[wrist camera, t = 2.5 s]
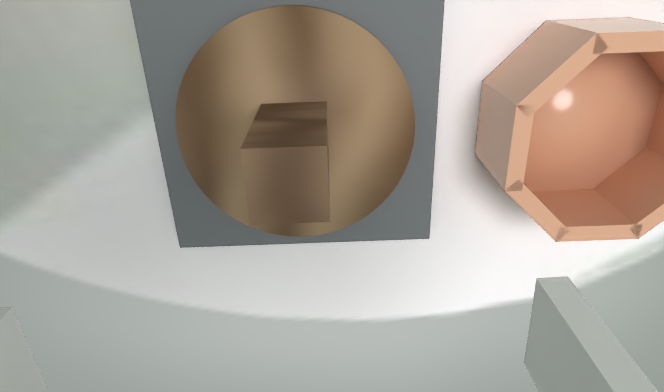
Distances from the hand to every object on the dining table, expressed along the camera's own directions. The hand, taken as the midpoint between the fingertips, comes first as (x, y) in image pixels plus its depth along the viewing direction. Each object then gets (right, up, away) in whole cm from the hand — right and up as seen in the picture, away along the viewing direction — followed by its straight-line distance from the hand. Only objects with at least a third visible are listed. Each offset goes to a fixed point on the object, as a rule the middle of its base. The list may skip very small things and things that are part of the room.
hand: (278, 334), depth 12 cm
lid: (-1, +8, +18) cm, 20 cm away
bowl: (+17, +9, +19) cm, 27 cm away
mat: (-1, +8, +19) cm, 21 cm away
